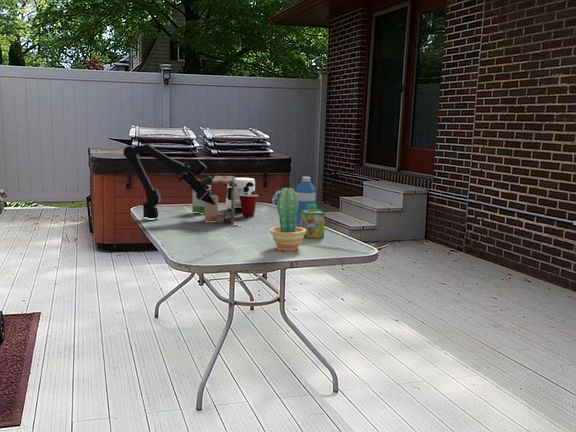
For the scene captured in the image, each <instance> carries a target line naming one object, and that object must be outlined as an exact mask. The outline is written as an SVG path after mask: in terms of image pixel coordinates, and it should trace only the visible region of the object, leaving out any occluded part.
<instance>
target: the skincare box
mask: <svg viewBox="0 0 576 432" xmlns="http://www.w3.org/2000/svg"><path fill="white" fill-rule="evenodd" d="M208 186H209V187H210V188H209V189H210V193H212V191H211V190H212V185H210V184H208ZM209 189H208V190H209ZM196 195H197V194H196V192H195V191H194V190H193V189H192V207H191V208H192V209H191V210H192V211H191V212H198V213H205V201H202V200H198V199H197V198H196Z"/></svg>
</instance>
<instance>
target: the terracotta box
mask: <svg viewBox="0 0 576 432" xmlns="http://www.w3.org/2000/svg"><path fill="white" fill-rule="evenodd" d="M210 197H211V198H212V199H213V201H214V202H215V205H213V204H210V203H208V202H205V216H204V218H205V217H218V214H219V196H218V195H212V194H211V195H210Z"/></svg>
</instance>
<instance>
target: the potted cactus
mask: <svg viewBox="0 0 576 432" xmlns="http://www.w3.org/2000/svg"><path fill="white" fill-rule="evenodd" d="M271 202H272V205H273V206H276V210H277V214H278V218H279V226H273V227H270V228H269V233H270V235H272V238H273V242H274V243H275V245H276V250H279V251H282V250H284V251H283V252H293V251H292V250H294V251H297V250H296V249H298V250H299V246H300V244H301V243H302V241H303V239H304V235H305V234H306V231H307V230H306V229H305V228H301V227H296V213H297V210H298V205H299V198H298V195H297V194H296V191H295V189H294V188H292V187H289V188H288V187H282V188H281V189H280V190H277V191H276V192H274V195H273V196H272V198H271ZM275 204H276V205H275Z"/></svg>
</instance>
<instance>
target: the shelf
mask: <svg viewBox="0 0 576 432" xmlns="http://www.w3.org/2000/svg"><path fill="white" fill-rule="evenodd" d="M235 176H236V175H214V176H213V177H212V179H213V180H212V183H211V184H223V185H224V184H225V185H226V184H227V185H228V184H231V210H230V213H231V218H230V219H231V220H230V221H231V223H230V225H232V226H234V225H235V223H234V222H235V216H236V214H235V213H236V211H235V178H236V177H235ZM225 214H226V213H225V212H221V213H218V217H205V216H204V222H205V221H215V222H214V223H225V220H224V219H226V215H225Z"/></svg>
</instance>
